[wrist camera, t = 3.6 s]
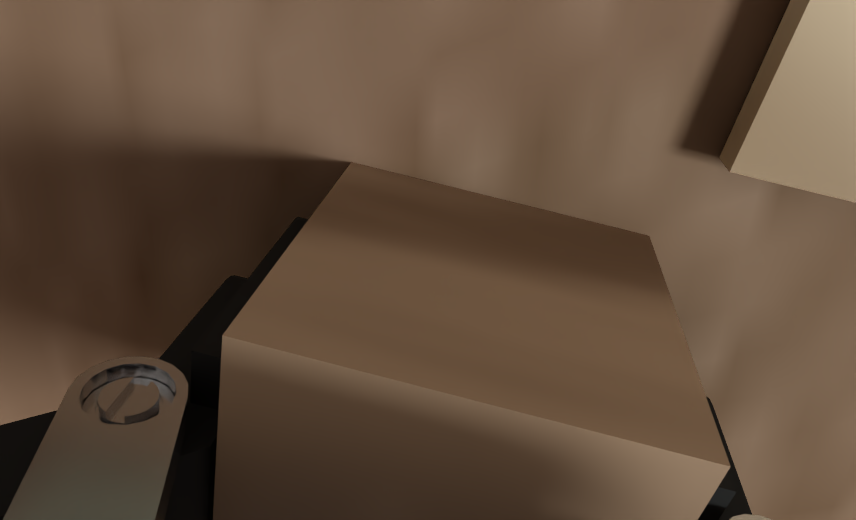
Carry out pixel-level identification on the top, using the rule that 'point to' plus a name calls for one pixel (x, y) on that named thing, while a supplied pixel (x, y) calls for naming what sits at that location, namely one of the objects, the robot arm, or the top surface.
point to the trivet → (803, 104)
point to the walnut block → (460, 369)
